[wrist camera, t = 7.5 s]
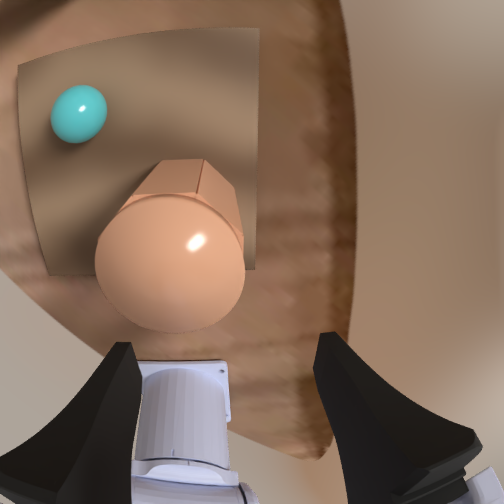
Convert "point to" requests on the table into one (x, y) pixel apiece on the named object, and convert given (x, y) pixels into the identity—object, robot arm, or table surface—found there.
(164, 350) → the table surface
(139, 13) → the table surface
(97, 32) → the table surface
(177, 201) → the faceted octagonal canister
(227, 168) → the walnut board
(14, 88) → the table surface
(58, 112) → the teal ball
